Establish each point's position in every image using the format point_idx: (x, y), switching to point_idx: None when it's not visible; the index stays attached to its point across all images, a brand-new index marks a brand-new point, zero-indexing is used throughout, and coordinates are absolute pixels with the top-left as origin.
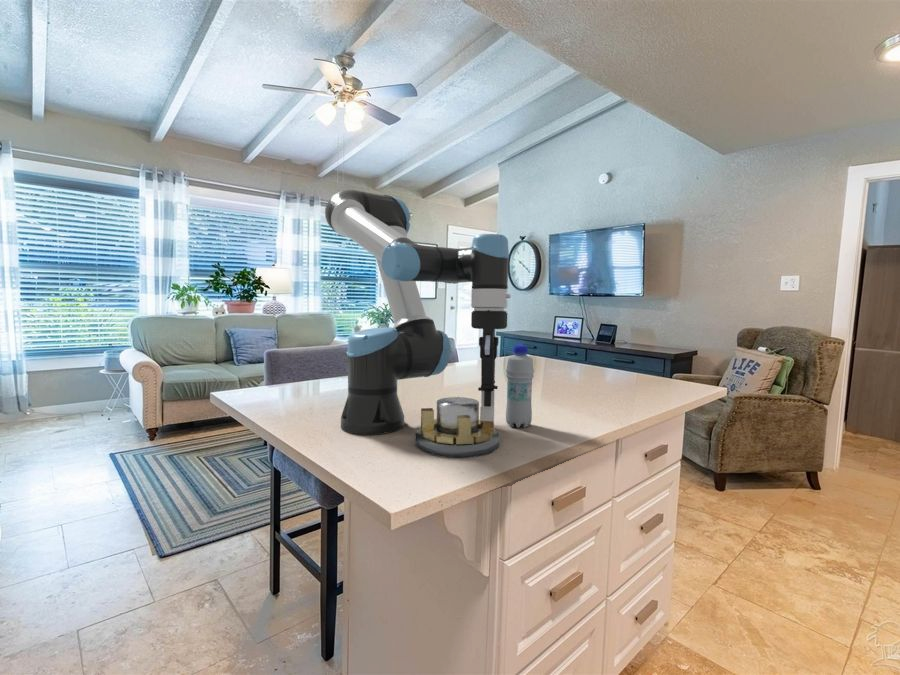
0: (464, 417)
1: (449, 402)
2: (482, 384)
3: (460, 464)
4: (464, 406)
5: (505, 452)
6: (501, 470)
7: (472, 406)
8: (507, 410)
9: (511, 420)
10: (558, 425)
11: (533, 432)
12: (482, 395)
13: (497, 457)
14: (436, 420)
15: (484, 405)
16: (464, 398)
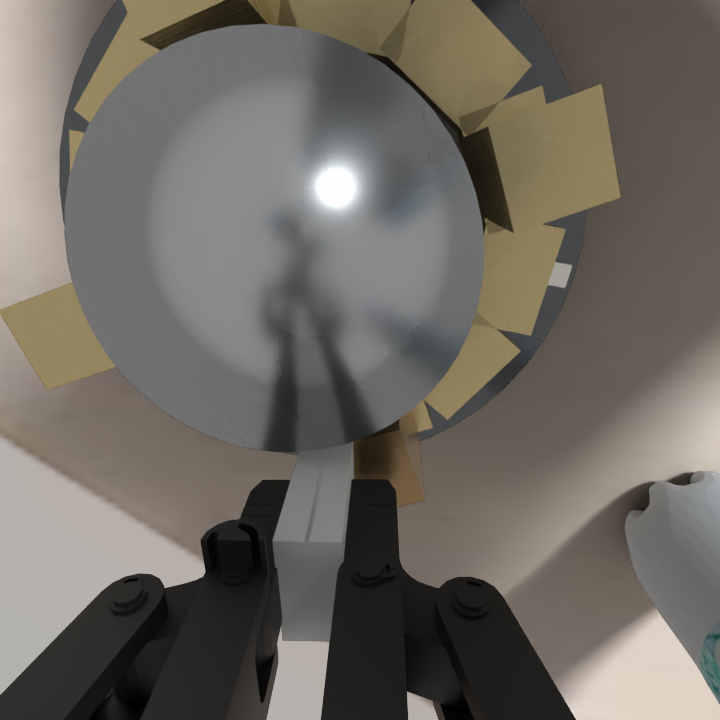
0: (43, 344)
1: (220, 189)
2: (75, 632)
3: (34, 283)
4: (118, 350)
5: (247, 458)
6: (42, 446)
7: (165, 409)
8: (717, 525)
9: (651, 511)
10: (683, 671)
11: (560, 572)
12: (284, 517)
13: (176, 429)
14: (452, 37)
15: (258, 487)
16: (430, 316)
